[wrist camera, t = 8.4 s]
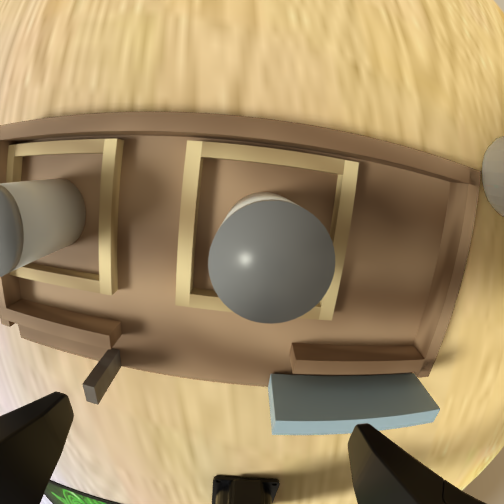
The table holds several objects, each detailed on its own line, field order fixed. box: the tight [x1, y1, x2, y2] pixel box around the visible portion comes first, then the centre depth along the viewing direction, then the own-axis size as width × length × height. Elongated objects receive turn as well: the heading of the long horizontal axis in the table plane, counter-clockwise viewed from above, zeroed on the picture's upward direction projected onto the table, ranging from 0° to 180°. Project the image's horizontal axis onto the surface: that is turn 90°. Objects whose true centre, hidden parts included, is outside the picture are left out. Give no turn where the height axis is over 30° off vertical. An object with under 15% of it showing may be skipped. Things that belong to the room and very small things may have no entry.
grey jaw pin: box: [0, 178, 86, 277], centre depth 13 cm, size 4×4×7 cm
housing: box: [0, 112, 481, 404], centre depth 16 cm, size 16×31×6 cm, turn 84°
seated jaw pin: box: [208, 192, 335, 324], centre depth 14 cm, size 4×4×7 cm
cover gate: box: [268, 373, 440, 435], centre depth 17 cm, size 2×11×4 cm, turn 83°
